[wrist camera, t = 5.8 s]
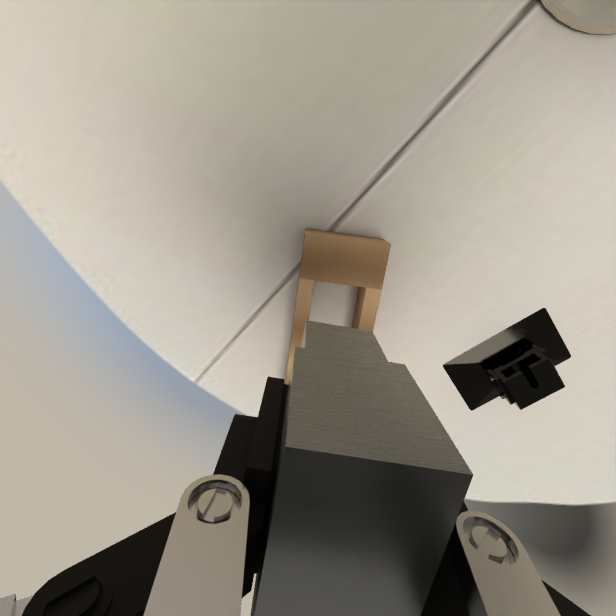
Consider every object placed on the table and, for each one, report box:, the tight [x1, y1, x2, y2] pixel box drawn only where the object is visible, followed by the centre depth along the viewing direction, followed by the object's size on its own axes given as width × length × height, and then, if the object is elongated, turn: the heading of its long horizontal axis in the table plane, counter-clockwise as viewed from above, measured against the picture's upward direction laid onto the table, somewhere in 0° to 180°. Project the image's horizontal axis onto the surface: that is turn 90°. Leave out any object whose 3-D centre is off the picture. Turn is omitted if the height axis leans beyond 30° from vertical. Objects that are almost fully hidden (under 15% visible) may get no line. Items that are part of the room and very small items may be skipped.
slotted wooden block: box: [285, 228, 391, 384], centre depth 27 cm, size 14×6×3 cm, turn 172°
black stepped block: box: [443, 308, 571, 410], centre depth 28 cm, size 12×7×5 cm, turn 125°
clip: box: [251, 320, 473, 616], centre depth 10 cm, size 6×3×7 cm, turn 170°
